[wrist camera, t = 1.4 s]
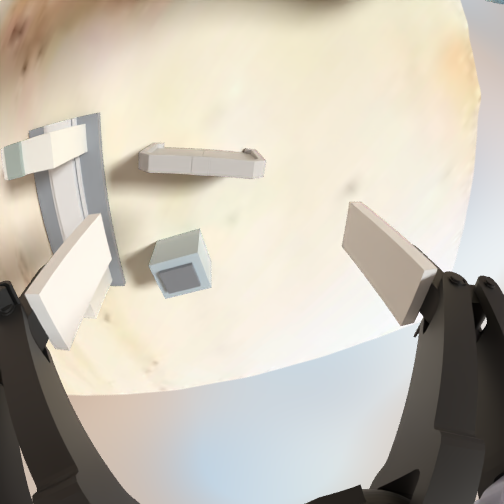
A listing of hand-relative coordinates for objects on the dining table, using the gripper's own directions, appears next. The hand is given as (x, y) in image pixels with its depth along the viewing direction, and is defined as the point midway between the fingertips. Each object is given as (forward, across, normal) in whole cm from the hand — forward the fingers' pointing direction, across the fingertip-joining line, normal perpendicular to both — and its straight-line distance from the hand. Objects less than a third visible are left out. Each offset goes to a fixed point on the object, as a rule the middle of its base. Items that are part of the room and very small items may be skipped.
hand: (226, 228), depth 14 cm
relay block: (+19, -5, -12) cm, 23 cm away
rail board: (+19, -20, -5) cm, 28 cm away
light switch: (+19, -2, +1) cm, 19 cm away
